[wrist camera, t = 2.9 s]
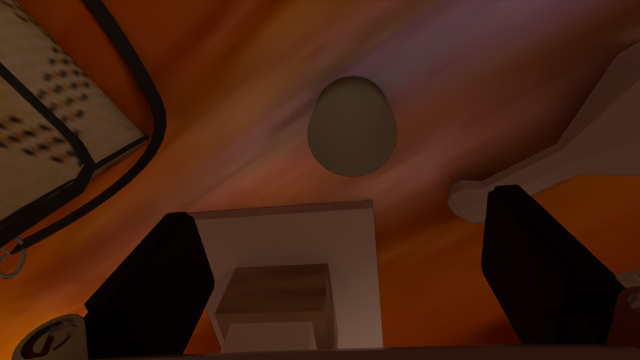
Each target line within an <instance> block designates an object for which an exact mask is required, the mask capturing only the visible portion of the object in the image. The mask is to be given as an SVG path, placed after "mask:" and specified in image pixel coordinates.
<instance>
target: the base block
mask: <svg viewBox="0 0 640 360" xmlns="http://www.w3.org/2000/svg"><path fill="white" fill-rule="evenodd" d="M214 315H215V317H216V320H217V323H218V326H219V328H220V331H221V334H222V337H223V339H224V340H225V338H226V335H227V333H228V330H229V327H230V325H231V324H241V323H280V322H312V326H313V332H314V337H315V342H316V347H317V349H338V326H337V320H336V313H335V306H334V300H333V293H332V286H331V280H330V273H329V266H328V263H324V264H303V265H282V266H261V267H240V268H235V270H234V272H233V274H232V277H231V279H230V281H229V283H228V285H227V288H226V290H225V292H224V294H223V296H222V299H221V301H220V303H219V305H218V307H217V310H216V312H215V314H214Z"/></svg>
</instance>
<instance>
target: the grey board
mask: <svg viewBox="0 0 640 360" xmlns="http://www.w3.org/2000/svg"><path fill="white" fill-rule="evenodd" d="M188 214H189V216H193V218H194V220H195V222H196V225H197V228H198V231H199V234H200V237H201V240H202V243H203V246H204V249H205V252H206V255H207V258H208V261H209V264H210V267H211V270H212V273H213V276H214V280H215V286H214V290H213V292H212V294H211V296H210V298H209V300H208V302H207V304H206V306H205V307H206V309H207V312H208V315H209V317H210V320H211V323H212V325H213V328H214V331H215V333H216V336H217V339H218V341H219V344H220V347H221V348H222V346H223V343H224V339H223V337H222V334H221V331H220V328H219V326H218V323H217V320H216V317H215V315H214V314H215V312H216V310H217V307H218V305H219V303H220V301H221V299H222V296H223V294H224V292H225V290H226V288H227V285H228V283H229V281H230V279H231V277H232V274H233V272H234V270H235V268H240V267H261V266H282V265H303V264H324V263H328V266H329V273H330V280H331V286H332V293H333V300H334V306H335V313H336V320H337V326H338V349H345V348H376V347H383V341H382V326H381V312H380V297H379V283H378V269H377V254H376V240H375V225H374V211H373V201H372V200H367V201H353V202H339V203H325V204H311V205H297V206H283V207H268V208H254V209H240V210H226V211H212V212H198V213H188Z"/></svg>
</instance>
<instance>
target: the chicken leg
mask: <svg viewBox="0 0 640 360" xmlns="http://www.w3.org/2000/svg"><path fill="white" fill-rule="evenodd" d="M576 175H609V176H640V42H638V43H636V44H634V45H633V46H631V47H629V48H628V49H626V50H624V51H622V52H621V53H619V54H617V56H616V57H615V59H614V60H613V62H612V63H611V65H610V66H609V68H608V69H607V71H606V72H605V73H604V75H603V76H602V78H601V79H600V81H599V82H598V84H597V85H596V87H595V88H594V90H593V91H592V92H591V94H590V95H589V97H588V98H587V100H586V101H585V103H584V104H583V106H582V107H581V109H580V110H579V112H578V113H577V114H576V116H575V117H574V119H573V120H572V122H571V123H570V125H569V126H568V128H567V129H566V131H565V132H564V133H563V135H562V136H561V138H560V139H559V141H558V142H557V144H555V145H553V146H551V147H549V148H547V149H545V150H543V151H541V152H539V153H537V154H535V155H533V156H531V157H529V158H527V159H525V160H523V161H521V162H519V163H517V164H515V165H513V166H511V167H509V168H507V169H505V170H503V171H501V172H499V173H497V174H495V175H493V176H491V177H489V178H487V179H485V180H483V181H471V180H459V181H457V182H456V183H454V184H453V185H451V187H450V190H449V194H448V198H447V203H448V205H449V207H450V209H451V210H452V212H453V213H454V214H456V215H457V216H459V217H461V218H463V219H464V220H466V221H468V222H470V223H476V222H478V223H480V224H482V225H483V224H485V218H486V207H487V196H488V193H489V192H490V191H494V188H495V187H496V186H501V185H513V184H518V185H519V186H520V187H521V188H522V189H524V190H525V191H526V192H527V193H528V194H529V195H530V196H531V195H533V194H535V193H537V192H540V191H542V190H544V189H546V188H549V187H551V186H553V185H556V184H558V183H560V182H562V181H565V180H567V179H569V178H571V177H574V176H576Z"/></svg>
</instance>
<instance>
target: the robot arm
mask: <svg viewBox="0 0 640 360" xmlns="http://www.w3.org/2000/svg"><path fill="white" fill-rule="evenodd" d="M481 266H482V271H483V274H484V276H485V278H486V280H487V281H488V283H489V285H490V287H491V289H492V290H493V292H494V294H495V296H496V298H497V299H498V301H499V303H500V305H501V307H502V308H503V310H504V312H505V314H506V316H507V317H508V319H509V321H510V323H511V325H512V327H513V328H514V330H515V332H516V334H517V336H518V337H519V339H520V341H521V343H522V344H487V345H448V346H412V347H376V348H345V349H315V350H286V351H257V352H232V353H206V354H183V352H184V350H185V348H186V346H187V344H188V342H189V340H190V338H191V336H192V334H193V331H194V329H195V327H196V325H197V323H198V321H199V319H200V317H201V315H202V313H203V311H204V308H205V306H206V304H207V302H208V300H209V298H210V296H211V294H212V292H213V290H214V286H215V280H214V276H213V273H212V270H211V267H210V264H209V261H208V258H207V255H206V252H205V249H204V246H203V243H202V240H201V237H200V234H199V231H198V228H197V225H196V222H195V220H194V218H193V216H189V214H188V213H187V212H175V213H167V214H166V215H165V216H164V217H163V218H162V219H161V220H160V221H159V223H158V224H157V225H156V226H155V227H154V228H153V229H152V230H151V231H150V232H149V234H148V235H147V236H146V237H145V238H144V239H143V240H142V241H141V242H140V243H139V245H138V246H137V247H136V248H135V249H134V250H133V251H132V252H131V253H130V254H129V256H128V257H127V258H126V259H125V260H124V261H123V262H122V263H121V264H120V265H119V266H118V268H117V269H116V270H115V271H114V272H113V273H112V274H111V275H110V276H109V277H108V279H107V280H106V281H105V282H104V283H103V284H102V285H101V286H100V287H99V288H98V290H97V291H96V292H95V293H94V294H93V295H92V296H91V297H90V298H89V299H88V301H87V302H86V303H85V304H84V305H85V307H86V309H87V310H88V313H87V314H86V315H85V317H84V318H83V317H82V316H80V315H78V314H68V315H63V316H60V317H57V318H54V319H52V320H50V321H48V322H46V323H44V324H42V325H40V326H39V327H37V328H36V329H35V330H33V331H32V332H30V333H29V334H28V335H27V336H26V337H25V338H24V339H23V340H21V342H20V343H19V344H18V345H17V347H16V348H15V350H14V352H13V355H12V360H640V286H635V287H628V288H625V287H624V286H623V285H622V284H621V283H620V282H619V281H618V280H617V279H616V276H615V275H614V274H613V273H612V272H611V271H610V270H609V269H608V268H607V267H606V266H605V265H604V264H602V263H601V262H600V261H599V260H598V259H597V258H596V257H595V256H594V255H593V254H592V253H591V252H590V251H589V250H588V249H586V248H585V247H584V246H583V245H582V244H581V243H580V242H579V241H578V240H577V239H576V238H575V237H574V236H573V235H572V234H570V233H569V232H568V231H567V230H566V229H565V228H564V227H563V226H562V225H561V224H560V223H559V222H558V221H557V220H556V219H554V218H553V217H552V216H551V215H550V214H549V213H548V212H547V211H546V210H545V209H544V208H543V207H542V206H541V205H540V204H538V203H537V202H536V201H535V200H534V199H533V198H532V197H531V196H530V195H529V194H528V193H527V192H526V191H525V190H524V189H522V188H521V187H520V186H519V185H518V184H513V185H501V186H496V187H495V188H494V191H490V192H489V193H488V196H487V207H486V218H485V228H484V239H483V249H482V260H481Z"/></svg>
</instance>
